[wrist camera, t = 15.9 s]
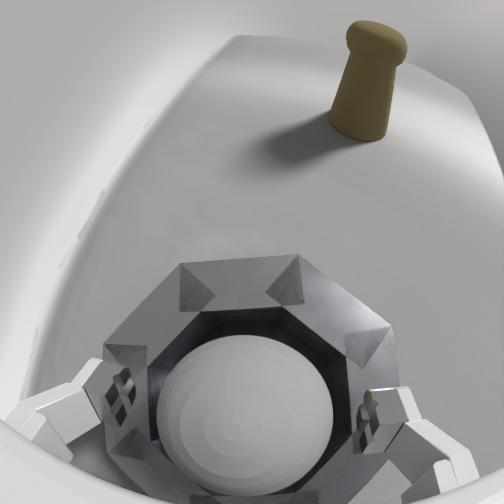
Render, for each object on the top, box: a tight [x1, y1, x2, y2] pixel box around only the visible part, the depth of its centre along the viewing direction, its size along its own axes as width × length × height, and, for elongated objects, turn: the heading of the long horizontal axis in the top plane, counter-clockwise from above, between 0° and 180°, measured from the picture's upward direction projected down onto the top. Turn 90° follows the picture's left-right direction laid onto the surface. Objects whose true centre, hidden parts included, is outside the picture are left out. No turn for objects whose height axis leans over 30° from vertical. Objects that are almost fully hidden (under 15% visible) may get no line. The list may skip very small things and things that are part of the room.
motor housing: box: [103, 254, 399, 504], centre depth 13 cm, size 17×17×5 cm
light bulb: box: [157, 335, 333, 497], centre depth 10 cm, size 5×6×10 cm
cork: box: [329, 21, 407, 141], centre depth 20 cm, size 6×6×11 cm
